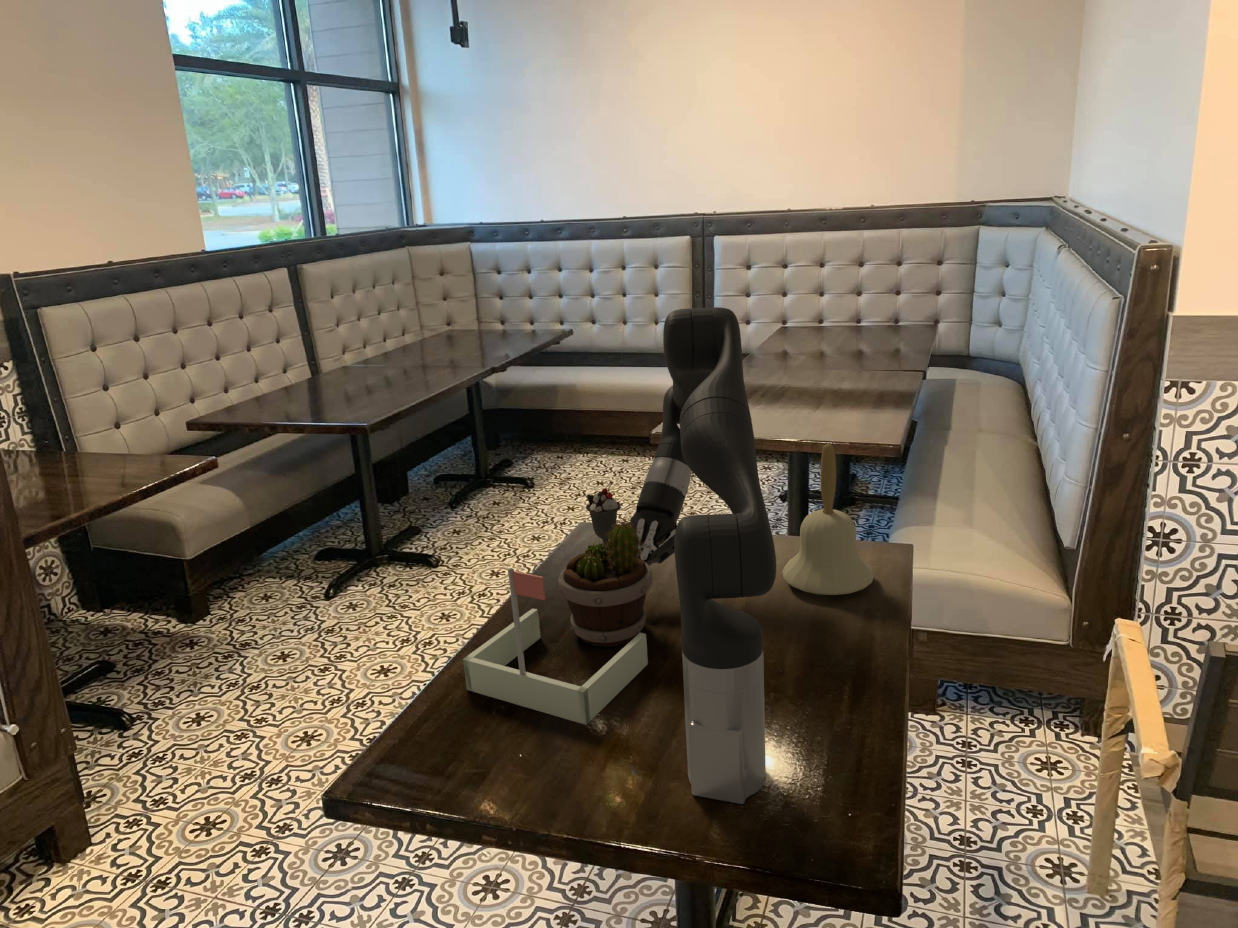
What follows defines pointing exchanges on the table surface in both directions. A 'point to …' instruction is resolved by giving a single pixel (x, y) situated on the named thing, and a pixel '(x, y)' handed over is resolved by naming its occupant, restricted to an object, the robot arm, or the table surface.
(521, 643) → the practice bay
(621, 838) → the table surface
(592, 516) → the sundae
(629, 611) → the flowerpot
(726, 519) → the robot arm
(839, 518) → the handbell
